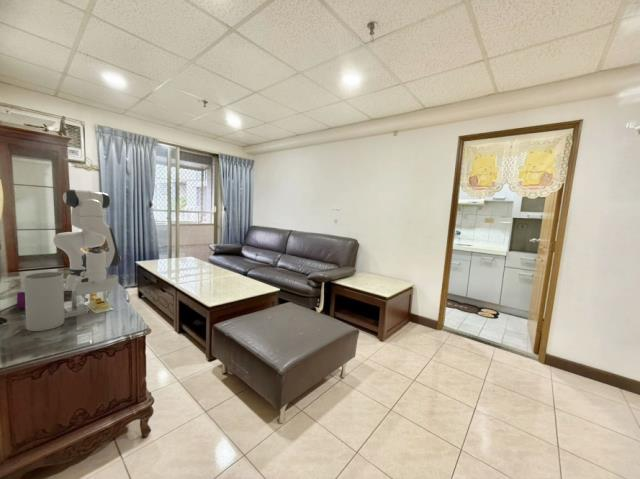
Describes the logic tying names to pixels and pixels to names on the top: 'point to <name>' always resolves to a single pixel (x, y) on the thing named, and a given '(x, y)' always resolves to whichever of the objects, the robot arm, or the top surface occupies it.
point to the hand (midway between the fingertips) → (96, 299)
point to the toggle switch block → (74, 307)
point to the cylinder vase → (44, 300)
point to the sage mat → (97, 310)
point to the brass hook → (98, 302)
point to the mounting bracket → (21, 300)
